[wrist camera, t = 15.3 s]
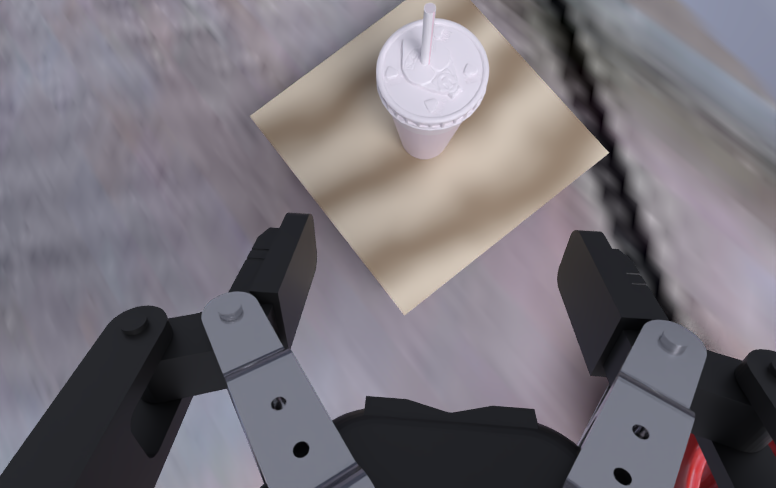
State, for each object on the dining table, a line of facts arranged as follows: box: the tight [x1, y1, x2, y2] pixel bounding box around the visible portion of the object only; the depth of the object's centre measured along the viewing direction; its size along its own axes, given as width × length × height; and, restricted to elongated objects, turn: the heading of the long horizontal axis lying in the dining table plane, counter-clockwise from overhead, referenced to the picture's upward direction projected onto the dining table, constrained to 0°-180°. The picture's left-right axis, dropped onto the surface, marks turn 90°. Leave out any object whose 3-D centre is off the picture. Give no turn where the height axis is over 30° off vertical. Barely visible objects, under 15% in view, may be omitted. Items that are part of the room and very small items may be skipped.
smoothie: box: [376, 3, 489, 159], centre depth 26 cm, size 6×6×14 cm
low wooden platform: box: [250, 0, 609, 315], centre depth 36 cm, size 20×20×7 cm
